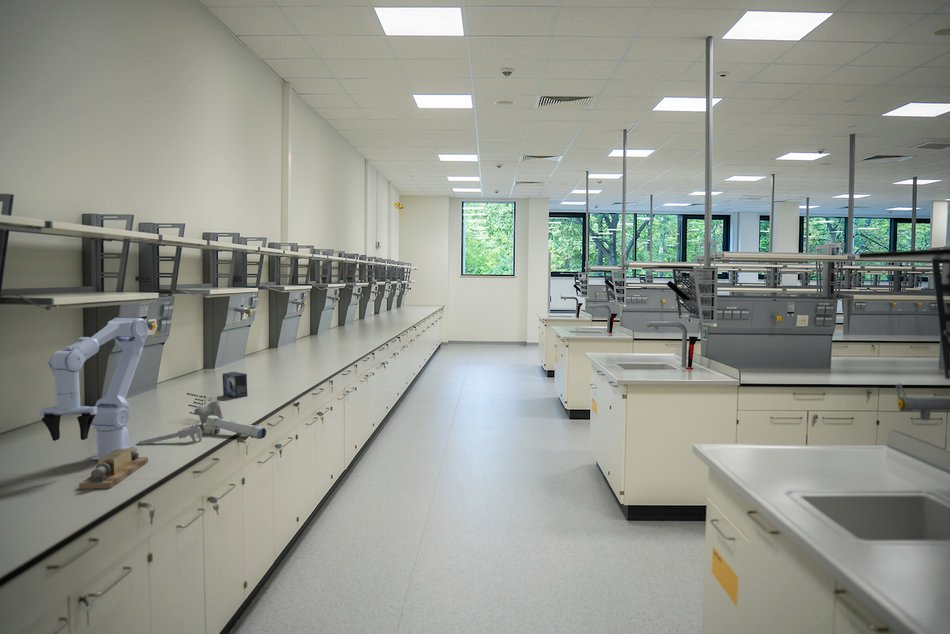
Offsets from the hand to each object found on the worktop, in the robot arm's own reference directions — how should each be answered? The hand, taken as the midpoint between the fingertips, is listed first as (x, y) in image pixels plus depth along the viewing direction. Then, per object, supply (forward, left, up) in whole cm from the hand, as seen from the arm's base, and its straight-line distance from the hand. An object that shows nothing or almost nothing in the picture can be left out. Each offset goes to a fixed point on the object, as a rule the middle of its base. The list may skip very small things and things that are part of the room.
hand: (70, 439), depth 173 cm
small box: (-104, +15, -10) cm, 106 cm away
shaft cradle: (+4, +14, -9) cm, 17 cm away
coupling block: (+4, +14, -8) cm, 17 cm away
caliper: (-28, +16, -10) cm, 34 cm away
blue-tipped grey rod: (-36, +35, -10) cm, 51 cm away
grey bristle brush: (-56, +18, -10) cm, 59 cm away
